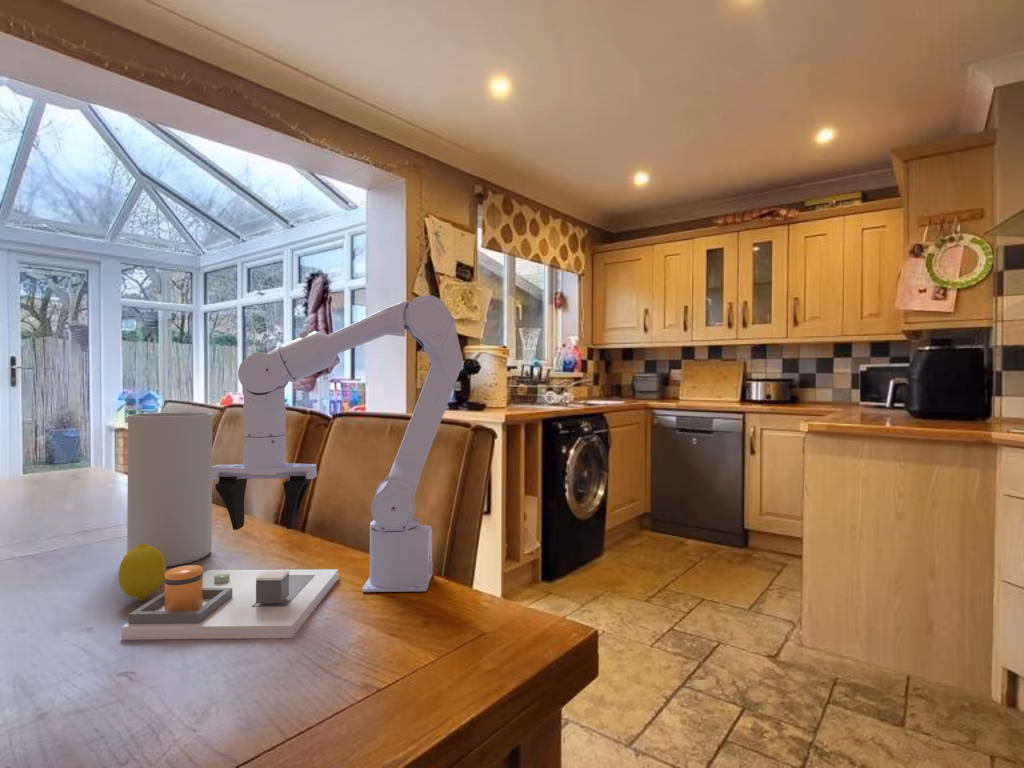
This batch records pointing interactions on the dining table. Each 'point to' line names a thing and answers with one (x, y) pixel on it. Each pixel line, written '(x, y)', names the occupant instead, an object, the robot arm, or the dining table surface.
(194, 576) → the cap
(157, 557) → the lemon
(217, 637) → the board
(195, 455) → the cylinder vase
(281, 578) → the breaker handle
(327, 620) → the dining table surface
